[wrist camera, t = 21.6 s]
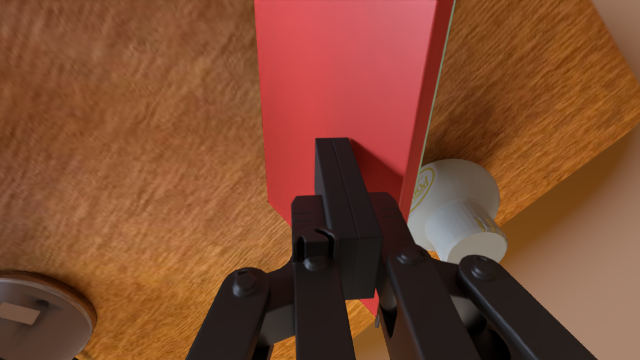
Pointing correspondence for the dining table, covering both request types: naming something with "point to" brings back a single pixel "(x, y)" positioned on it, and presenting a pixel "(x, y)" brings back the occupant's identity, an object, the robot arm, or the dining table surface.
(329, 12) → the lid
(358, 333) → the dining table surface
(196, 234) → the dining table surface
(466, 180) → the air freshener
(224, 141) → the dining table surface
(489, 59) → the dining table surface
